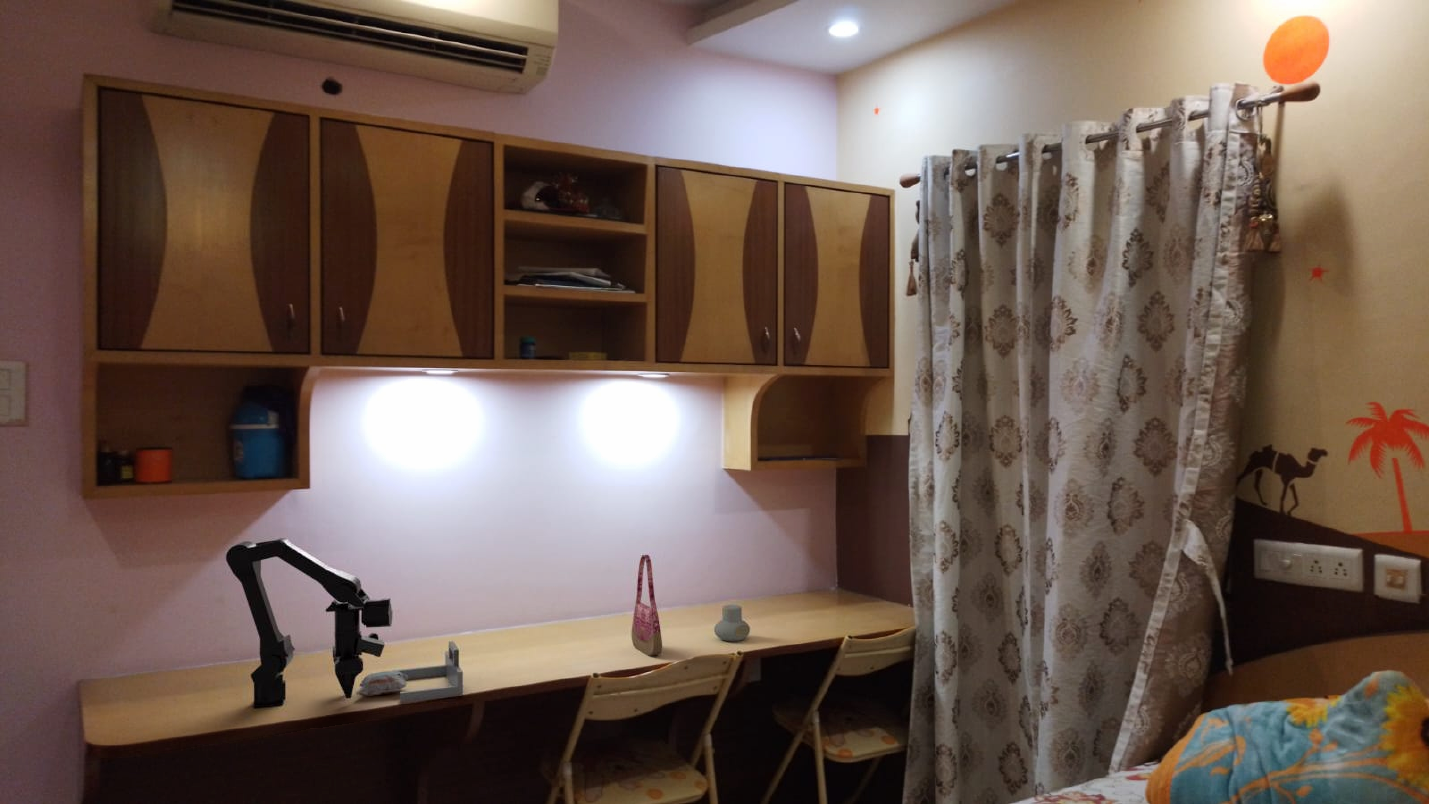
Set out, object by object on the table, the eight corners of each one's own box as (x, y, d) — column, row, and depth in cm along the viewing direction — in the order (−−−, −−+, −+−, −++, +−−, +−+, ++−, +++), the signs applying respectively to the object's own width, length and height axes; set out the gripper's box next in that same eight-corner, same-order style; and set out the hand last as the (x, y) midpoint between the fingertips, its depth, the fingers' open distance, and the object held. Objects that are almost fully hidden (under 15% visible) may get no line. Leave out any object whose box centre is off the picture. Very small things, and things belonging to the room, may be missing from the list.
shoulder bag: (630, 645, 284) (631, 551, 284) (640, 644, 285) (640, 550, 285) (653, 659, 269) (653, 559, 269) (662, 657, 270) (662, 559, 270)
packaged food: (407, 694, 233) (405, 674, 233) (355, 701, 230) (354, 681, 230) (409, 685, 242) (408, 666, 242) (359, 691, 239) (358, 672, 239)
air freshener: (734, 634, 298) (734, 602, 298) (754, 638, 292) (754, 606, 292) (709, 640, 290) (709, 607, 290) (729, 645, 284) (729, 611, 284)
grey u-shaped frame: (400, 703, 229) (400, 662, 229) (392, 680, 248) (392, 641, 248) (462, 696, 235) (462, 655, 235) (449, 673, 254) (449, 636, 254)
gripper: (385, 633, 227) (385, 699, 227) (379, 617, 244) (379, 678, 244) (335, 638, 222) (335, 705, 222) (332, 621, 239) (332, 684, 239)
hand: (347, 692), depth 232 cm, fingers open, 9 cm apart
